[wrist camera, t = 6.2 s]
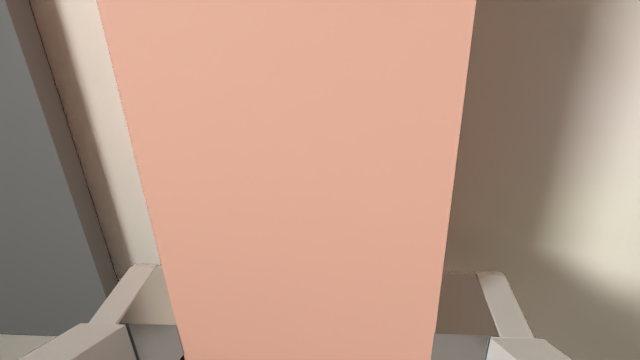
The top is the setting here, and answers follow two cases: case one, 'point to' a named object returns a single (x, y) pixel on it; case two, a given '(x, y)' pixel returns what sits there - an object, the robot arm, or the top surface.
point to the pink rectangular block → (296, 167)
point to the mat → (42, 196)
